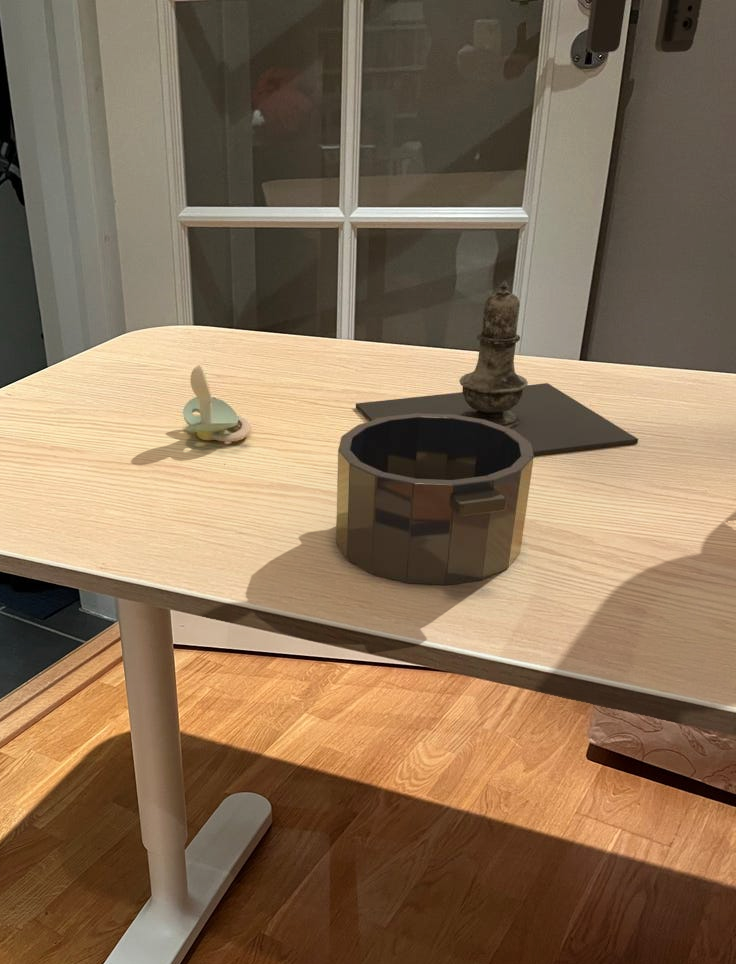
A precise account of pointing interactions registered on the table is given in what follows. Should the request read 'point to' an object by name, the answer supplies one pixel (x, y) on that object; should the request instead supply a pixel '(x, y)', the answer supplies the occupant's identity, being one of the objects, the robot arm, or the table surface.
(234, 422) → the pacifier
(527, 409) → the mat
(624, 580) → the table surface
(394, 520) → the pot
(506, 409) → the salt shaker
